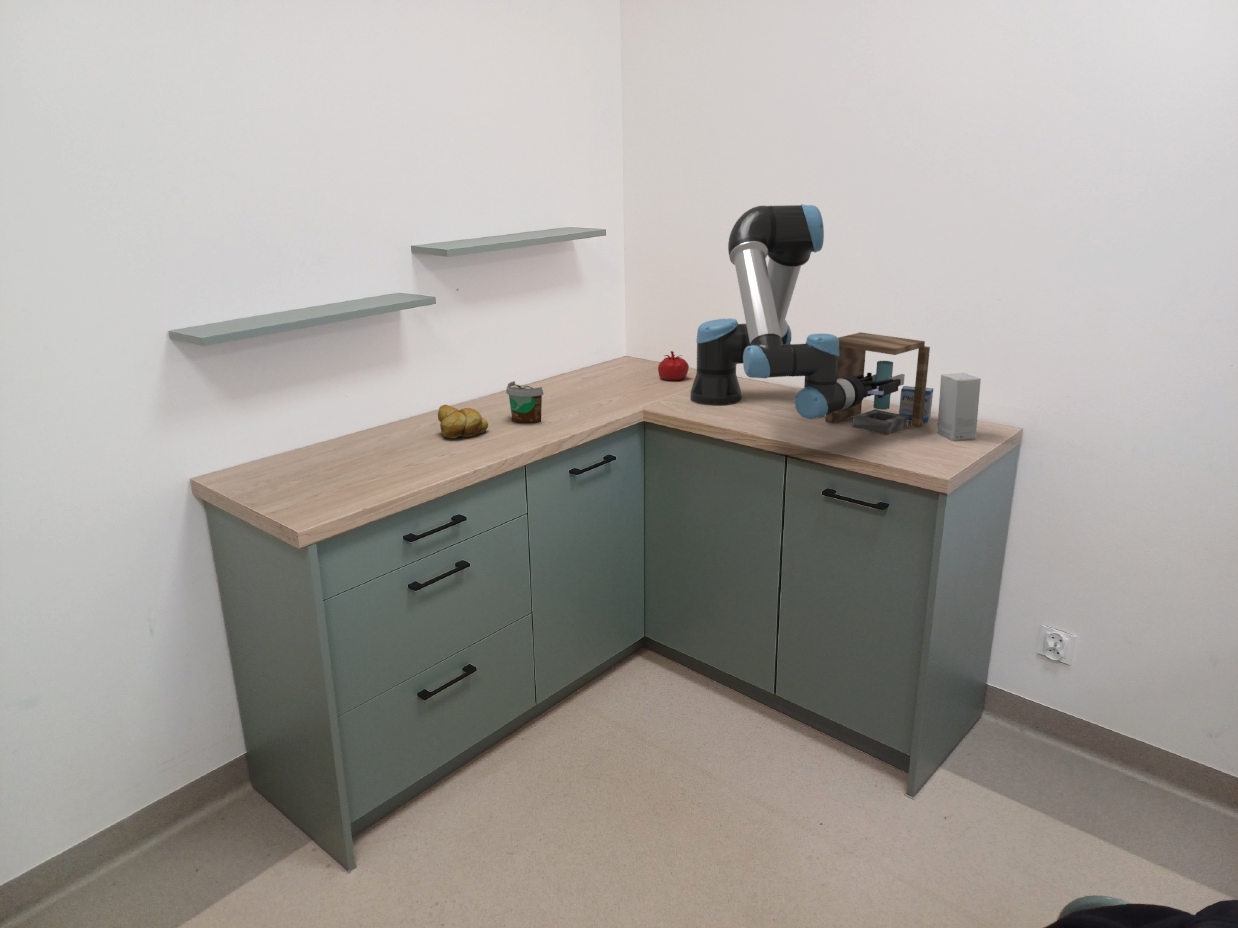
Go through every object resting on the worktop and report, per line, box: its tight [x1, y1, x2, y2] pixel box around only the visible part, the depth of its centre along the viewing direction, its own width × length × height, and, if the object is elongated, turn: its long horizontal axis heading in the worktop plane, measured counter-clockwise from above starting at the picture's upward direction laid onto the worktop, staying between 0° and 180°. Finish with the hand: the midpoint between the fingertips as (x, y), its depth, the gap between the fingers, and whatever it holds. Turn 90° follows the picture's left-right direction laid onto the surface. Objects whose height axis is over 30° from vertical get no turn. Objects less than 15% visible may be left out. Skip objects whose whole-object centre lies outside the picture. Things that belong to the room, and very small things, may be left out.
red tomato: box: [657, 350, 690, 382], centre depth 285 cm, size 10×10×9 cm
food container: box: [505, 380, 544, 425], centre depth 239 cm, size 12×6×10 cm, turn 47°
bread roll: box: [437, 404, 489, 439], centre depth 228 cm, size 13×10×8 cm
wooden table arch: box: [824, 332, 931, 436], centre depth 229 cm, size 15×20×22 cm
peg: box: [873, 360, 894, 411], centre depth 225 cm, size 4×4×12 cm
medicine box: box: [898, 385, 934, 423], centre depth 235 cm, size 8×4×9 cm, turn 65°
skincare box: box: [936, 372, 982, 442], centre depth 218 cm, size 8×7×16 cm
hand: (894, 377), depth 229 cm, fingers closed on peg, 4 cm apart
